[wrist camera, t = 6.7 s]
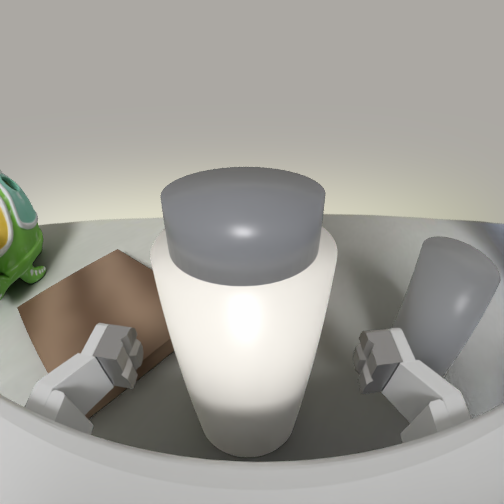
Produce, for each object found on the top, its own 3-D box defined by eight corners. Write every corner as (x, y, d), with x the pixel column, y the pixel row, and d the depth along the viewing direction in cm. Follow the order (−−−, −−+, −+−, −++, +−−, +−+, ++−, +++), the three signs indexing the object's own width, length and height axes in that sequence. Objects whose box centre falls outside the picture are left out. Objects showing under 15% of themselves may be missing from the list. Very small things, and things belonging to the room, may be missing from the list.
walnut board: (120, 259, 26) (117, 249, 25) (214, 316, 20) (213, 304, 19) (22, 317, 18) (17, 307, 17) (82, 422, 11) (73, 413, 11)
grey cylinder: (390, 326, 18) (424, 228, 14) (446, 346, 16) (493, 253, 12) (370, 375, 15) (418, 268, 11) (437, 399, 12) (506, 301, 8)
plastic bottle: (238, 366, 16) (229, 157, 10) (311, 404, 13) (368, 183, 7) (181, 422, 12) (103, 200, 6) (259, 474, 10) (280, 266, 4)
